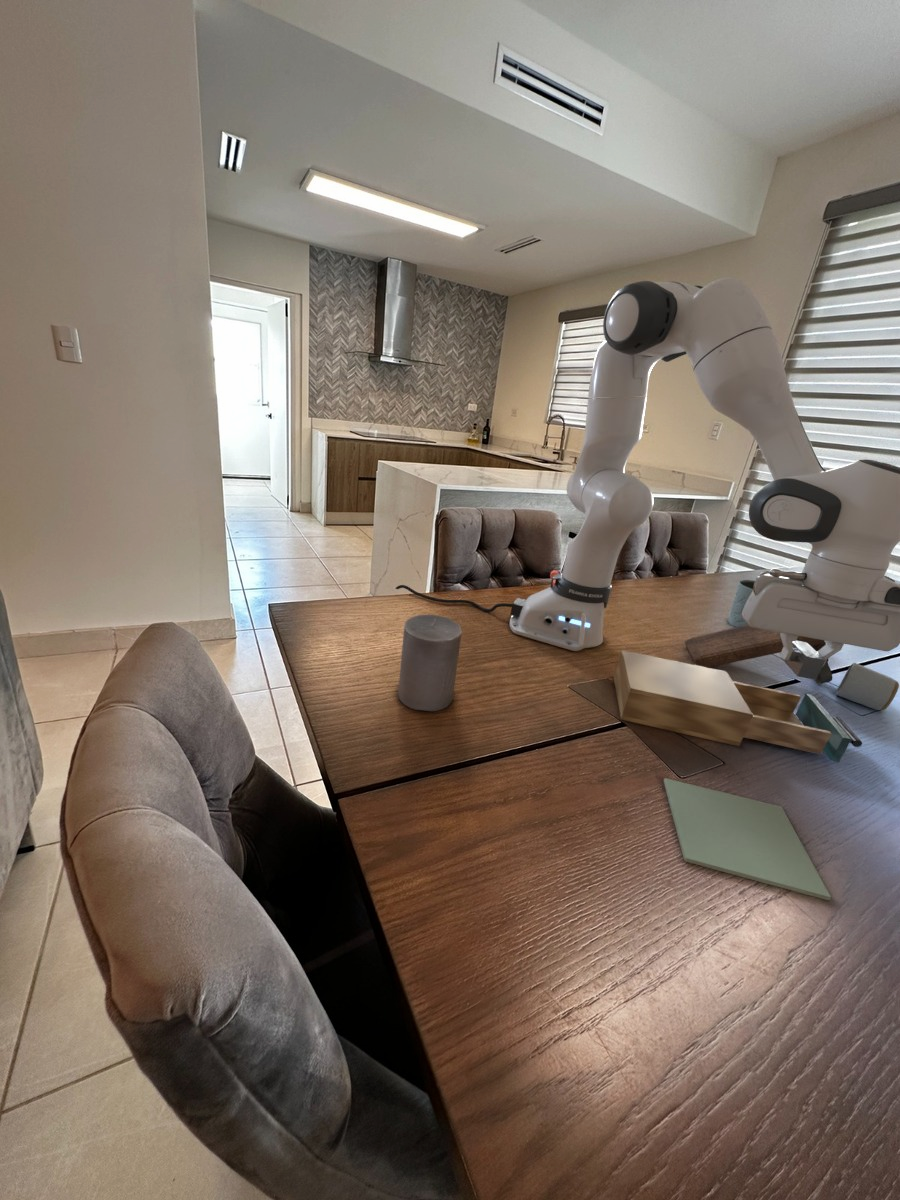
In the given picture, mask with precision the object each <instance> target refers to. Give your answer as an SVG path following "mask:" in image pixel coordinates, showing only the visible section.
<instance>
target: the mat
mask: <svg viewBox="0 0 900 1200" xmlns="http://www.w3.org/2000/svg"><path fill="white" fill-rule="evenodd" d="M663 784H664V789H665V793H666V796H667V800H668V804H669V808H670V811H671V815H672V820H673V823H674V826H675V827H674V828H675V831H676V834H677V838H678V842H679V846H680V850H681V854H682V858H683V861H684V862H686V863H689V864H693V865H697V866H699V867H704V868H707V869H711V870H714V871H718V872H723V873H726V874H730V875H733V876H737V877H740V878H744V879H748V880H752V881H755V882H759V883H763V884H766V885H770V886H773V887H776V888H777V887H778V888H780V889H786V890H788V891H791V892H795V893H799V894H802V895H807V896H810V897H814V898H817V899H822V900H825V901H830V900H831V899H832V896H831V894H830V893H829V890H828V889H827V887H826V885H825V883H824V881H823V879H822V878H821V876H820V874H819V872H818V871H817V869H816V867H815V865H814V864H813V861H812V860H811V858H810V855H809V853H808V852H807V850H806V849H805V846H804V845H803V843H802V842H801V839H800V837H799V836H798V834H797V832H796V830H795V829H794V827H793V825H792V823H791V822H790V819H789V817H788V816H787V813H786V812H785V810H784V807H782V806H780V805H777V804H772V803H768V802H764V801H760V800H755V799H752V798H748V797H745V796H740V795H735V794H731V793H729V792H723V791H721V790H715V789H711V788H707V787H703V786H699V785H695V784H691V783H688V782H687V783H686V782H683V781H678V780H675V779H671V778H666V777H664V778H663Z"/></svg>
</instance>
